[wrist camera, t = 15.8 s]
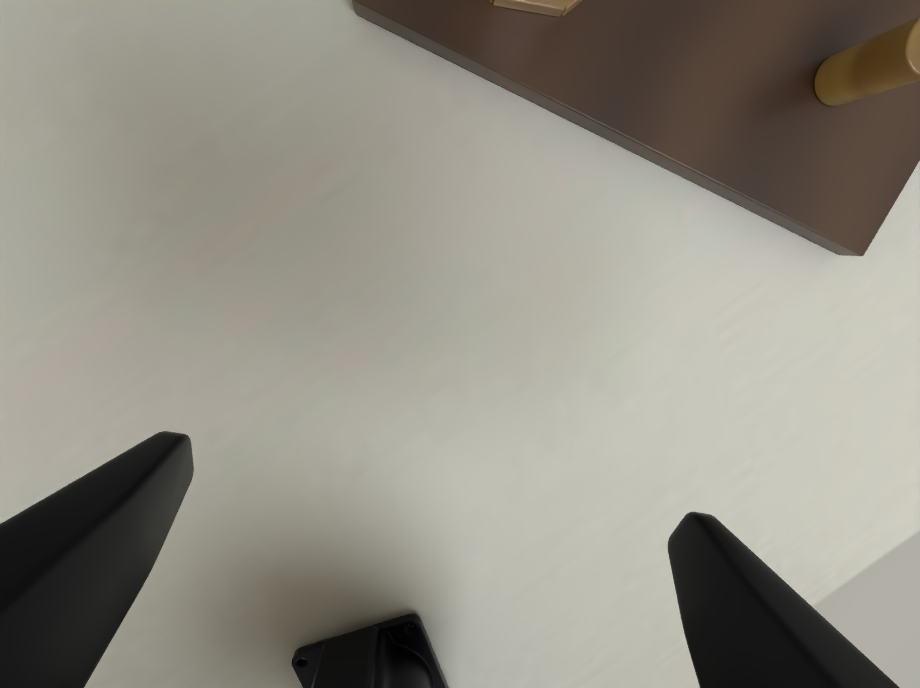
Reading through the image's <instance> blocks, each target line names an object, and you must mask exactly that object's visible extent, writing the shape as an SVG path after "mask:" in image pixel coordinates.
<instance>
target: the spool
mask: <svg viewBox="0 0 920 688" xmlns="http://www.w3.org/2000/svg"><path fill="white" fill-rule="evenodd" d="M581 1H582V0H489V2H490V3H492V2H493V5H494V6H500V7H506V8H511V9H517V10H522V11H528V12H534V13H539V14H545V15H551V16H556V17H560V16H561V15H562V16H564V15H565V14H567V13H568V12H569V11H570V10H571V9H573V8H574V7H575V6H576V5H577V4H579V3H580V2H581Z"/></svg>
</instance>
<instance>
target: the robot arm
mask: <svg viewBox="0 0 920 688" xmlns="http://www.w3.org/2000/svg"><path fill="white" fill-rule="evenodd" d="M193 471H194V466H193V457H192V448H191V441H190V438H189V436H188V435H186V434H181V433H175V432H168V431H163V432H159V433H157V434H155V435H153V436H152V437H150V438H148V439H146V440H145V441H143V442H141V443H139V444H138V445H136V446H134V447H133V448H131V449H129V450H127V451H126V452H124V453H122V454H120V455H119V456H117V457H115V458H114V459H112V460H110V461H108V462H107V463H105V464H103V465H102V466H100V467H98V468H96V469H95V470H93V471H91V472H89V473H88V474H86V475H84V476H83V477H81V478H79V479H77V480H76V481H74V482H72V483H70V484H69V485H67V486H65V487H64V488H62V489H60V490H58V491H57V492H55V493H53V494H51V495H50V496H48V497H46V498H45V499H43V500H41V501H39V502H38V503H36V504H34V505H32V506H31V507H29V508H27V509H26V510H24V511H22V512H20V513H19V514H17V515H15V516H13V517H12V518H10V519H8V520H7V521H5V522H3V523H1V524H0V688H84V687H85V685H86V683H87V681H88V680H89V678H90V676H91V674H92V673H93V671H94V669H95V668H96V666H97V664H98V662H99V661H100V659H101V657H102V655H103V654H104V652H105V650H106V649H107V647H108V645H109V643H110V642H111V640H112V638H113V636H114V635H115V633H116V631H117V630H118V628H119V626H120V624H121V623H122V621H123V619H124V617H125V616H126V614H127V612H128V611H129V609H130V607H131V605H132V604H133V602H134V600H135V598H136V597H137V595H138V593H139V591H140V590H141V588H142V586H143V584H144V583H145V581H146V579H147V577H148V575H149V573H150V572H151V570H152V568H153V565H154V563H155V561H156V559H157V557H158V555H159V553H160V550H161V548H162V546H163V544H164V541H165V539H166V537H167V535H168V532H169V530H170V528H171V526H172V523H173V521H174V519H175V517H176V514H177V512H178V510H179V508H180V505H181V503H182V501H183V499H184V496H185V494H186V492H187V490H188V487H189V485H190V483H191V480H192V477H193ZM668 553H669V558H670V564H671V569H672V574H673V579H674V584H675V589H676V594H677V599H678V604H679V609H680V615H681V620H682V624H683V629H684V633H685V637H686V641H687V644H688V648H689V651H690V655H691V658H692V662H693V665H694V668H695V672H696V675H697V679H698V682H699V685H700V688H899V687H898V686H897V685H896V684H895V683H894V682H893V681H892V680H891V679H890V678H889V677H888V676H886V675H885V674H884V673H883V672H882V671H881V670H880V669H879V668H878V667H877V666H876V665H874V664H873V663H872V662H871V661H870V660H869V659H868V658H867V657H866V656H865V655H864V654H863V653H861V652H860V651H859V650H858V649H857V648H856V647H855V646H854V645H853V644H852V643H851V642H849V641H848V640H847V639H846V638H845V637H844V636H843V635H842V634H841V633H840V632H839V631H838V630H836V628H834V627H833V626H832V625H831V624H830V623H829V622H828V621H827V620H826V619H825V618H823V617H822V616H821V615H820V614H819V613H818V612H817V611H816V610H815V609H814V608H813V607H812V606H811V605H810V604H808V603H807V602H806V601H805V600H804V599H803V598H802V597H801V596H800V595H799V594H798V593H797V592H795V591H794V590H793V589H792V588H791V587H790V586H789V585H788V584H787V583H786V582H785V581H784V580H782V579H781V578H780V577H779V576H778V575H777V574H776V573H775V572H774V571H773V570H772V569H771V568H769V567H768V566H767V565H766V564H765V563H764V562H763V561H762V560H761V559H760V558H759V557H757V556H756V555H755V554H754V553H753V552H752V551H751V550H750V549H749V548H748V547H747V546H746V545H744V544H743V543H742V542H741V541H740V540H739V539H738V538H737V537H736V536H735V535H734V534H733V533H731V532H730V531H729V530H728V529H727V528H726V527H725V526H724V525H723V524H722V523H721V522H720V521H718V520H717V519H716V518H715V517H714V516H712V515H709V514H704V513H698V512H690V513H688V514H686V515H685V517H684V518H683V519H682V521H681V522H680V523H679V525H678V526H677V528H676V529H675V530H674V532H673V533H672V534H671V536H670V538H669V541H668ZM408 625H414V626H412V627H410V626H408ZM302 658H303V659H306V660H303V659H302ZM292 666H293V668H294V670H295V672H296V674H297V676H298V678H299V680H300V682H301V684H302V686H303V688H448V686H447V684H446V681H445V679H444V676H443V674H442V671H441V669H440V666H439V664H438V661H437V658H436V656H435V653H434V651H433V648H432V646H431V643H430V641H429V638H428V636H427V633H426V631H425V628H424V626H423V623H422V621H421V619H420V617H419V616H417V615H416V614H407V615H404V616H401V617H398V618H394V619H391V620H388V621H385V622H382V623H378V624H375V625H372V626H369V627H365V628H362V629H359V630H356V631H353V632H349V633H346V634H343V635H340V636H337V637H333V638H330V639H327V640H324V641H320V642H317V643H314V644H311V645H308V646H304V647H301V648H299V649H297V650H296V651H295V653H294V656H293V659H292Z"/></svg>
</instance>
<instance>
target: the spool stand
mask: <svg viewBox="0 0 920 688" xmlns="http://www.w3.org/2000/svg"><path fill="white" fill-rule="evenodd" d="M352 2H353V5H354V8H355V11H356V14H357V15H359V16H361V17H363V18H365V19H367V20H369V21H371V22H373V23H375V24H377V25H379V26H381V27H383V28H385V29H387V30H389V31H391V32H393V33H395V34H397V35H399V36H401V37H403V38H405V39H407V40H409V41H411V42H413V43H415V44H417V45H419V46H421V47H423V48H425V49H427V50H429V51H431V52H433V53H435V54H437V55H439V56H441V57H443V58H445V59H447V60H449V61H451V62H453V63H455V64H457V65H459V66H461V67H463V68H465V69H467V70H469V71H471V72H473V73H475V74H477V75H479V76H481V77H483V78H485V79H487V80H489V81H491V82H493V83H495V84H497V85H499V86H501V87H503V88H505V89H507V90H509V91H511V92H513V93H515V94H517V95H519V96H521V97H523V98H525V99H527V100H529V101H531V102H533V103H535V104H537V105H539V106H541V107H543V108H545V109H547V110H549V111H551V112H553V113H555V114H557V115H559V116H561V117H563V118H565V119H567V120H569V121H571V122H573V123H575V124H577V125H579V126H581V127H583V128H585V129H587V130H589V131H591V132H593V133H595V134H597V135H599V136H601V137H603V138H605V139H607V140H609V141H611V142H613V143H615V144H617V145H619V146H621V147H623V148H625V149H627V150H629V151H631V152H633V153H635V154H637V155H639V156H641V157H643V158H645V159H647V160H649V161H651V162H653V163H655V164H657V165H659V166H661V167H663V168H665V169H667V170H669V171H671V172H673V173H675V174H677V175H679V176H681V177H683V178H685V179H687V180H689V181H691V182H693V183H695V184H697V185H700V186H702V187H704V188H706V189H708V190H710V191H712V192H714V193H716V194H718V195H720V196H722V197H724V198H726V199H728V200H730V201H732V202H734V203H736V204H738V205H740V206H742V207H744V208H746V209H748V210H750V211H752V212H754V213H756V214H758V215H760V216H762V217H764V218H766V219H768V220H770V221H772V222H774V223H776V224H778V225H780V226H782V227H784V228H786V229H788V230H790V231H792V232H794V233H796V234H798V235H800V236H802V237H804V238H806V239H808V240H810V241H812V242H814V243H816V244H818V245H820V246H822V247H824V248H826V249H828V250H830V251H832V252H834V253H836V254H838V255H850V256H863V255H864V254H865V252H866V250H867V249H868V247H869V245H870V244H871V242H872V240H873V239H874V237H875V235H876V233H877V232H878V230H879V228H880V227H881V225H882V223H883V222H884V220H885V218H886V217H887V215H888V213H889V211H890V210H891V208H892V206H893V205H894V203H895V201H896V200H897V198H898V196H899V195H900V193H901V191H902V189H903V188H904V186H905V184H906V183H907V181H908V179H909V178H910V176H911V174H912V173H913V171H914V169H915V167H916V166H917V164H918V162H919V161H920V0H582V1H581V2H580V3H579V4H577V5H576V6H575V7H574V8H573V9H571V10H570V11H569V12H568V13H567V14H565V15H564V16H562V15H561V16H560V17H556V16H551V15H545V14H539V13H534V12H528V11H522V10H517V9H511V8H506V7H500V6H494V5H493V2H492V3H490V2H489V0H352Z"/></svg>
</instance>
